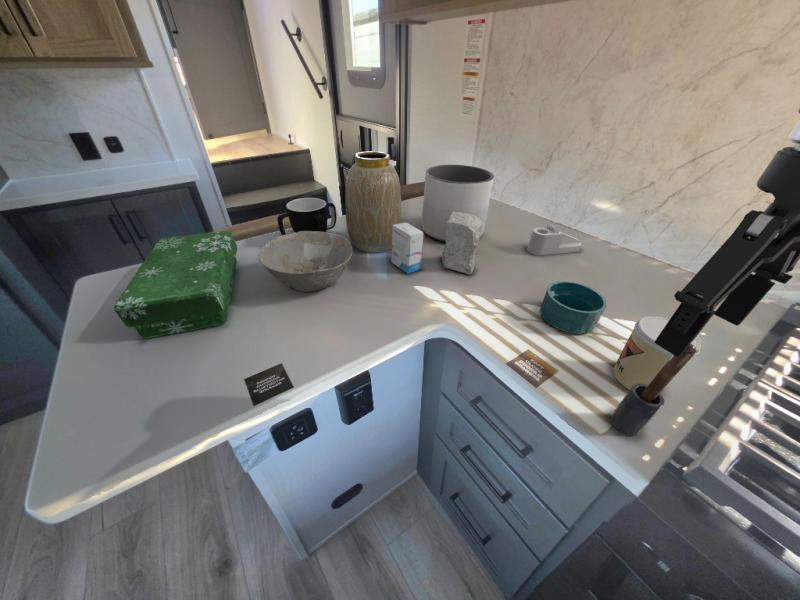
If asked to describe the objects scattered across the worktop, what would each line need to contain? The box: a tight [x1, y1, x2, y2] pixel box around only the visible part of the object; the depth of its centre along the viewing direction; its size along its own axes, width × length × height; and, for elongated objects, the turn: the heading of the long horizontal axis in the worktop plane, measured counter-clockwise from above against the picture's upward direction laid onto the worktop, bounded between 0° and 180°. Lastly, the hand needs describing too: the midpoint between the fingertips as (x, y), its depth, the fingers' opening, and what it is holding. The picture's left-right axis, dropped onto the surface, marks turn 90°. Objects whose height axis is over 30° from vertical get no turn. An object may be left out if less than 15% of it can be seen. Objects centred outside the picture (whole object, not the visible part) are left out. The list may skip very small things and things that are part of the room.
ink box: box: [391, 222, 424, 275], centre depth 89 cm, size 9×5×12 cm, turn 36°
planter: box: [421, 164, 495, 243], centre depth 107 cm, size 22×22×20 cm
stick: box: [639, 344, 696, 403], centre depth 46 cm, size 2×2×20 cm
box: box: [113, 230, 238, 339], centre depth 76 cm, size 32×18×10 cm, turn 17°
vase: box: [344, 151, 402, 254], centre depth 96 cm, size 17×17×27 cm
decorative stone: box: [441, 211, 483, 276], centre depth 89 cm, size 10×9×15 cm
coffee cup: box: [613, 315, 702, 391], centre depth 57 cm, size 9×9×12 cm
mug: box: [277, 197, 337, 236], centre depth 101 cm, size 16×16×12 cm
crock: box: [609, 384, 665, 437], centre depth 50 cm, size 4×4×8 cm
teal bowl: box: [539, 280, 607, 335], centre depth 73 cm, size 12×12×6 cm
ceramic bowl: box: [257, 231, 353, 293], centre depth 81 cm, size 22×23×10 cm
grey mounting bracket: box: [526, 223, 582, 256], centre depth 101 cm, size 6×18×8 cm, turn 103°
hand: (698, 333), depth 40 cm, fingers open, 13 cm apart
